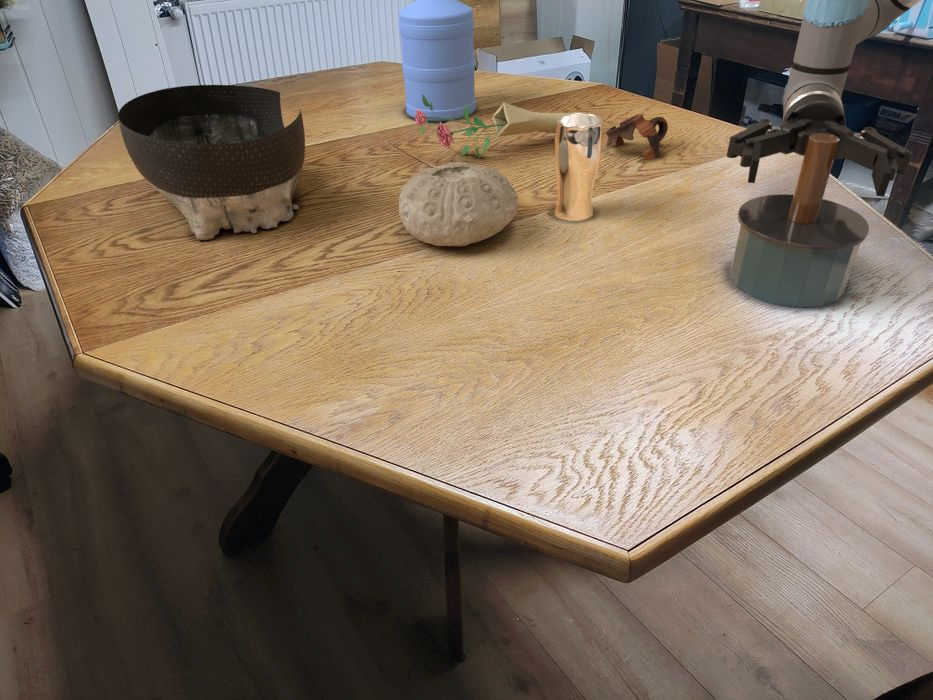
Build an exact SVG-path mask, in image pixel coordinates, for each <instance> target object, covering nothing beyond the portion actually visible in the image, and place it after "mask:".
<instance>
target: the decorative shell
mask: <svg viewBox="0 0 933 700" xmlns="http://www.w3.org/2000/svg"><path fill="white" fill-rule="evenodd" d="M399 189H400V194H399V200H398V213H399V218H400V220H401V222H402V225H403V226H404V228H405V230H406V231H407V232H408V233H409V234H410V235H411V236H413V237H414V238H415V239H416V240H419V241H420V242H422V243H425V244H427V245H428V244H430V245H433V246H437V247H442V246H443V247H466V246H469V245H472V244H476V243H479V242H482V241H484V240H486V239H490V238H491V237H493V236H494V235H496V234H498V233H499V232H501V231H502V230H503V229H504V228H505V227H506V226H507V225H508V224H509V223H510V222H511V221H512V220H513V219H514V218H515V216H516V214H517V213H518V207H519V194H518V193H517V191H516V189H514V187H513V185H512V184H511V182H510V181H509V180H508V177H507V176H504V174H502V173H501V172H499V171H498V169H497V168H496V167H490V166H487V165H483V164H479V163H468V162H466V161H455V162H448V163H445V164H442V165H438V166H435V167H428V168H425V169H422V170H421V171H419V172H417V173H415V174H414V175H412V176H411V177H410V178H409V179H408V180H407V181H406V182H405V184H404V186H401V187H400V188H399Z"/></svg>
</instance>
